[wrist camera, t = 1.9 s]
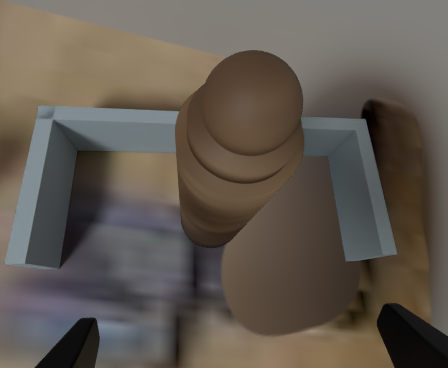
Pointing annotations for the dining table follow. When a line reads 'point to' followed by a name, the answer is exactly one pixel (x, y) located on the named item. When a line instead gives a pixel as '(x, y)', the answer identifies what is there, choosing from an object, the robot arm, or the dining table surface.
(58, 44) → the dining table surface
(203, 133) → the pepper mill
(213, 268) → the dining table surface
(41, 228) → the bracket
